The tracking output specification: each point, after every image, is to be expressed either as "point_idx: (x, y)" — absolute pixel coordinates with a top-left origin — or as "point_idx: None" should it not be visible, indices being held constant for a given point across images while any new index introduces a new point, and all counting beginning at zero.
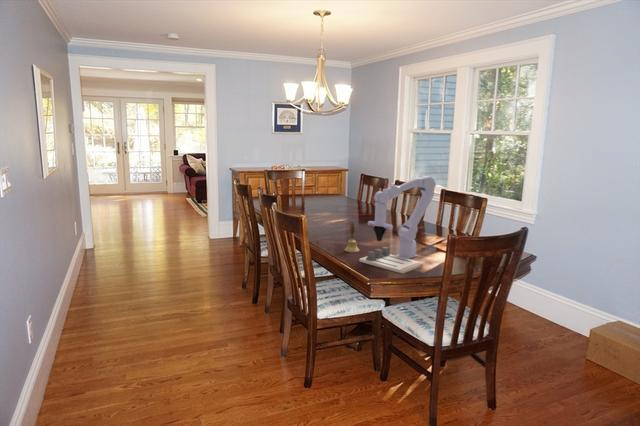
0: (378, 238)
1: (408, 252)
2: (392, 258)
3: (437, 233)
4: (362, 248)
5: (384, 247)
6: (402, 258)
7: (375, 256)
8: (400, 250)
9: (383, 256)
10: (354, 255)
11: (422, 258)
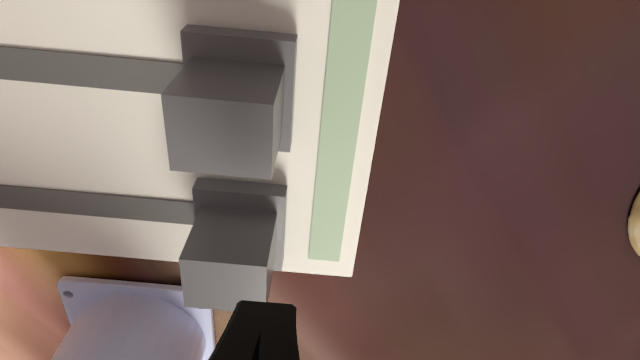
0: (238, 344)
1: (56, 350)
2: (86, 157)
3: None
4: (618, 313)
5: (240, 285)
6: (26, 224)
7: (247, 34)
8: (131, 348)
9: None
10: (634, 36)
11: (25, 355)
